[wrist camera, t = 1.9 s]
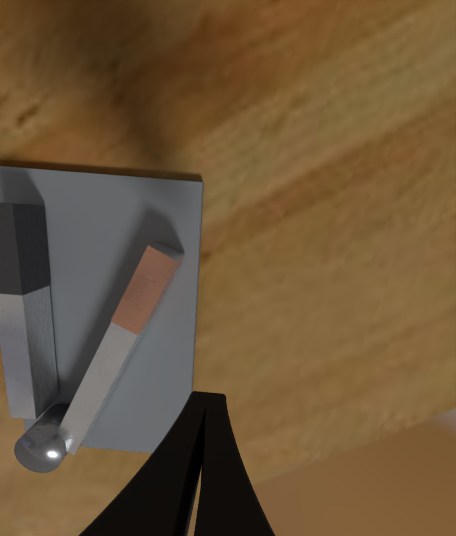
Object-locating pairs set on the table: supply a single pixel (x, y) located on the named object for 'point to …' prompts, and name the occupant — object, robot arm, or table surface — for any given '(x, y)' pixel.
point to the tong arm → (101, 365)
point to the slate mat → (117, 290)
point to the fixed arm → (26, 311)
